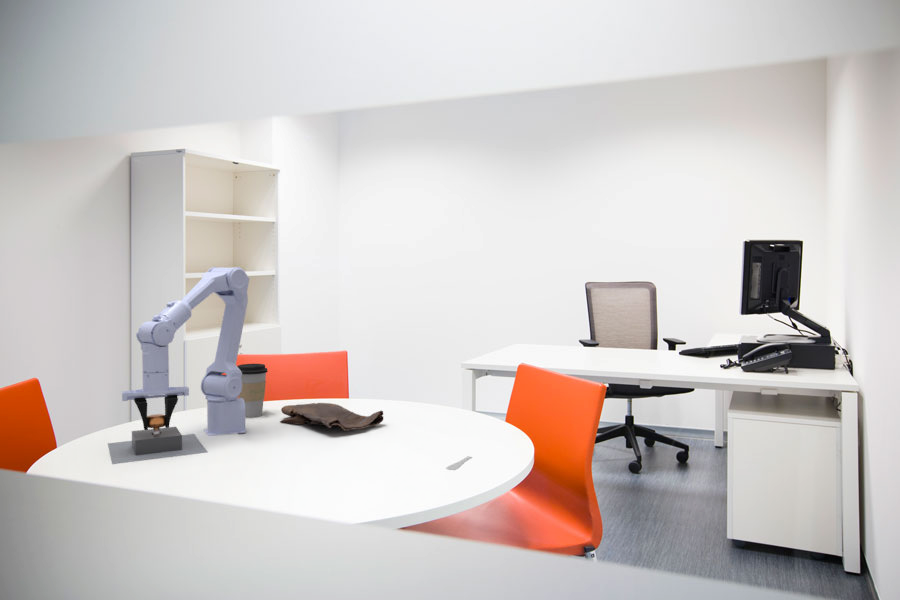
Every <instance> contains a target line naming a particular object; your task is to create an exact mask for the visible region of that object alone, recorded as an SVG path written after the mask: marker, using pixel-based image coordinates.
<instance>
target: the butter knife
mask: <svg viewBox="0 0 900 600" xmlns="http://www.w3.org/2000/svg"><path fill="white" fill-rule="evenodd" d="M472 458H473V457H472V456H466V457H464V458H463V459H461V460H460V461H457V462H454V463H452V464H451V465H448V466H446V468H445V469H446V470H447V471H455V470H458V469H460V468H461V467H462V466H463V465H464V464H465V463H466V462H467V461H469V460H471V459H472Z"/></svg>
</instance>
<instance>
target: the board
mask: <svg viewBox="0 0 900 600" xmlns="http://www.w3.org/2000/svg"><path fill="white" fill-rule="evenodd" d="M181 435H182V450H177V451H168V452H160V453H152V454H143V455H135V453H134V450H133V447H132V440H128V441H127V440H126V441H119V442H108V443H107V447H108V452H109V455H110V461H111V464H112V465H118V464H126V463H134V462H140V461H141V462H142V461H148V460H157V459H158V460H159V459H165V458H173V457H181V456H187V455H188V456H189V455H190V456H191V455H197V454H205V453H208V450H207V449H206V448H205V446H204V445H203V443H202V442H201V441H200V439H199V438H198V437H197V436H196V435H195V433H190V434H181Z"/></svg>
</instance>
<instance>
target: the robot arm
mask: <svg viewBox="0 0 900 600" xmlns="http://www.w3.org/2000/svg"><path fill="white" fill-rule="evenodd" d="M249 284H250V278H249V276H248V274H247V273H246V271H245V270H244V268H242V267H240V266H234V267H218V266H213V267H210V268H209V269H208V270H207V271H206V272H204V273H203V274H202V278H201V279H200V280H199V281H198V282H197V283H196V284H195V285H194V286H193V287H192V289H191V290H189V291H188V293H187V294H186V295H185V296H184V297H182V299H180V300H178V299H176V300H175V299H174V300H173V301H168V302H167V303H166V307H164V309H162V310H161V311H160V312H159V313H158V314H155V315H154V316H153V317H152V320H151V321H150V320H149V321H145V322H143V323H142V324H141V325H140V326H139V328H138V331H137V332H136V333H135V335H136V336H135V337H136V340H137V341H138V342H139V344H140V350H141V351H142V352H141V353H142V357H141V358H142V362H141V363H142V389H134V390H126V391H121V401H122V402H128V401H132V400H133V401H134V404H135V405H136V406H137V410H138V412H139V414H140V417H141V421H142V424H143V430H148V429H149V428H148V421H147V416H148V402H147V401H148V400H147V399H158V398H164V399H163V400H164V415H165V426H164V428H167V427H170V424H171V423H170V422H171V418H172V416H173V412H174V409H175V407H176V405H177V404H178V400H179V397H181V396H184V397H187V396H190V388H189V387H188V386H175V387H174V386H171V387H170V377H169V375H170V365H169V361H170V359H169V358H170V357H169V354H170V353H169V344H170V343H172V342H173V340H174V337H175V333H177V330H179V329H180V328H181V327H182V326H183V325H184V324H186V322H187V321H189V320H190V318H191V317H192V310H193V309H195V308H196V307H197V306H198V305H199V304H201V303H202V302H203V301H204V300H206V299H207V298H208V297H209V296H210V295H212V294H213V293H214V294H216V295H217V296H218V297H219V298H220V299H221V300H222V301H223V302H224V304H225V307H224V312H223V316H222V321H221V326H220V332H219V337H218V342H217V348H216V353H215V358H214V360H213V362H212V363H211V364H209V366H207V368H206V371H205V374H204V376H203V378H202V379H201V382H200V390H201V392H202V394H203V395H205V400H207V401H206V404H207V407H206V410H207V414H206V416H207V417H206V419H207V428H204V429H203V431H204V432H205V433H206V434H207V435H208V436H209V437H212V436H221V435H228V434H245V433H247V429H246V417H245V402H244V399H243V398H239V395H240V393H241V391H242V381H241V377H242V372H241V370H240V369H239V368H238V367H237V366H238V365H237V361H238V355H239V350H240V345H241V339H242V333H243V328H244V323H245V319H246V318H245V317H246V313H247V309H248V308H247V307H248V302H249V301H248V300H249V299H248V297H249V296H248V288H249ZM178 396H179V397H178Z"/></svg>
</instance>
